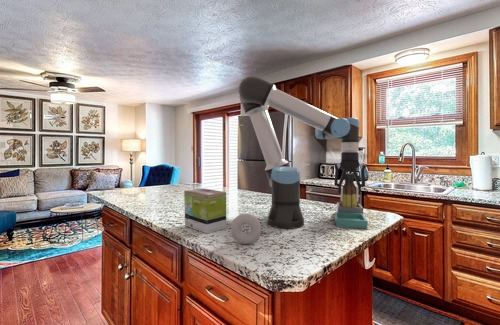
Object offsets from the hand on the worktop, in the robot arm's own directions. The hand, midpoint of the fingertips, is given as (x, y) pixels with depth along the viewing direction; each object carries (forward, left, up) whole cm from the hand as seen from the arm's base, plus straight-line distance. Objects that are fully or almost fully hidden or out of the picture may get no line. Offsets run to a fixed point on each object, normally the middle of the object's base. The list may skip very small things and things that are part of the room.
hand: (349, 201), depth 123 cm
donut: (-36, -49, -7) cm, 61 cm away
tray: (-1, -14, -7) cm, 16 cm away
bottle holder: (0, 0, -7) cm, 7 cm away
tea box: (-57, -35, -7) cm, 67 cm away
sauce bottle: (0, 0, -7) cm, 7 cm away
